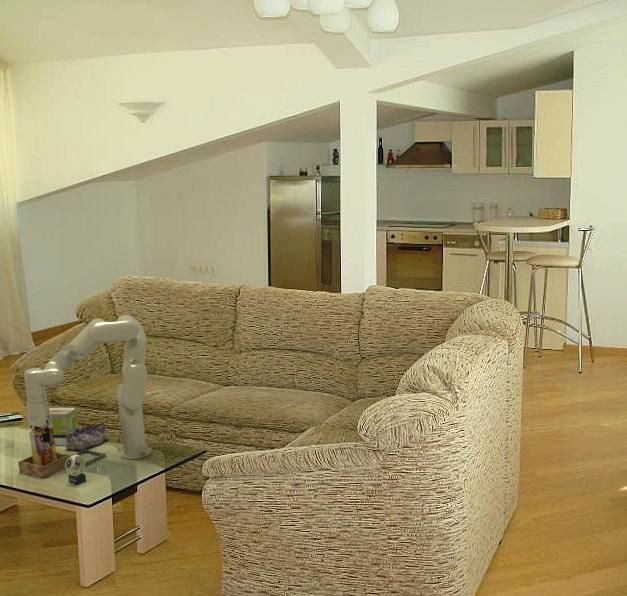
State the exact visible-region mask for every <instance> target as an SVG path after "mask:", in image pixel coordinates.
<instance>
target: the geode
mask: <svg viewBox="0 0 627 596" xmlns="http://www.w3.org/2000/svg"><path fill="white" fill-rule="evenodd" d="M106 441H109V430H108V427H107V426H106V425H105V423H104V422H101V423H98V424H95V423H93V424H87V425H85V426H83V427H82V428H79V430H76V431H75V430H74V431H72V432H71V433H70V434H68V435H67V436H66V445H65V449H66V451H79V452H80V451H83V450H87V449H89V448H94V447H97V446H101V445H102V444H103V442H106Z"/></svg>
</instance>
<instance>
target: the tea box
mask: <svg viewBox="0 0 627 596" xmlns="http://www.w3.org/2000/svg"><path fill="white" fill-rule="evenodd" d="M49 409H50V414H51V422H52V424H53V434H54V441H55V446H66V436H67V435H68V434H70V433H71V432H72V431H74V430H75V431H76V430H80V427H79V419H78V411H77V407H49ZM39 428H41V427H39Z"/></svg>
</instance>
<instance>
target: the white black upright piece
mask: <svg viewBox="0 0 627 596" xmlns="http://www.w3.org/2000/svg"><path fill="white" fill-rule="evenodd" d="M72 455H73V456H71V455H70V456H71V457H70V458H68V459H67V460H66V462H65V469H64V470H65V471H66V472H67V474H68V475H67V476H68V483H69V482H70V484H72V483H73V484H72V485H74V484H75V485H74V486H79V485H81V483H82V484H84V483H83V482H85V483H87V478H86V477H87V476H86V474H85V473H83V472H84V470H85V468H86V467H85V462H86V460H85V458H84V457H83V455H81V456H79V455H74V454H72ZM76 457H77V458H80V460H81V461H80V462H81V464H80V466H79V467H78V471H76V472H73V473H72V470H73V469H74V468H75V467H76V466H75V461H76V459H77V458H76Z"/></svg>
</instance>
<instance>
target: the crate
mask: <svg viewBox="0 0 627 596" xmlns="http://www.w3.org/2000/svg"><path fill="white" fill-rule="evenodd" d="M56 455H57V460H55V461H53V462H51V463H49V464H46V465H44V466H40V465H35V464H34V463H33V456H32V455H31V456H28V457H26V458H23V459H21V460H19V461H18V470H19V474H21V473H22V475H26V476H30V477H34V476H35V477H36V478H38V477H39V478H40V479H43V480H44V479H47V478H49V477H52V476H53V475H56V474H57V472H58V473H60V472H62V471H64V470H66V469H65V462H66V460H67V459H68V458H70V456H71V454H67V453H62V452H57V451H56ZM63 469H64V470H63ZM61 470H62V471H61ZM59 471H60V472H59ZM55 473H56V474H55ZM46 477H47V478H46Z"/></svg>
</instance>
